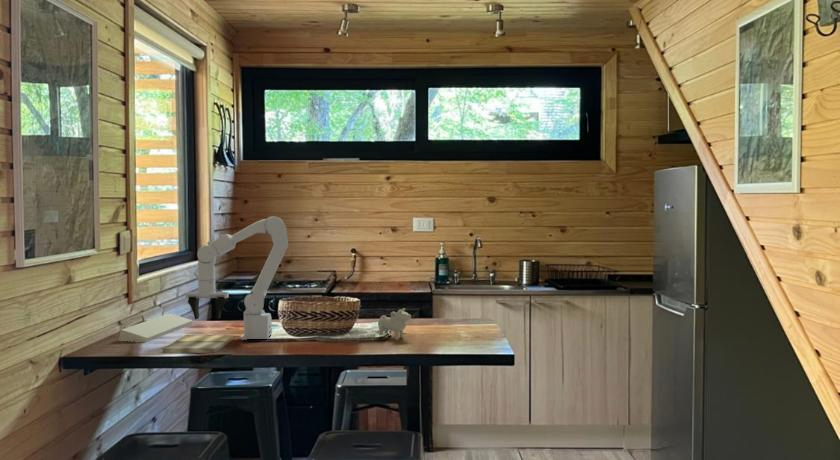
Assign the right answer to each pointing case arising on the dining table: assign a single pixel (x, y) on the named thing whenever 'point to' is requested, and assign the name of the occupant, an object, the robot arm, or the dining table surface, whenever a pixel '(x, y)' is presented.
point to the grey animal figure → (394, 323)
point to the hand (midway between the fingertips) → (207, 318)
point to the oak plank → (206, 338)
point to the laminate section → (193, 347)
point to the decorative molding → (154, 328)
